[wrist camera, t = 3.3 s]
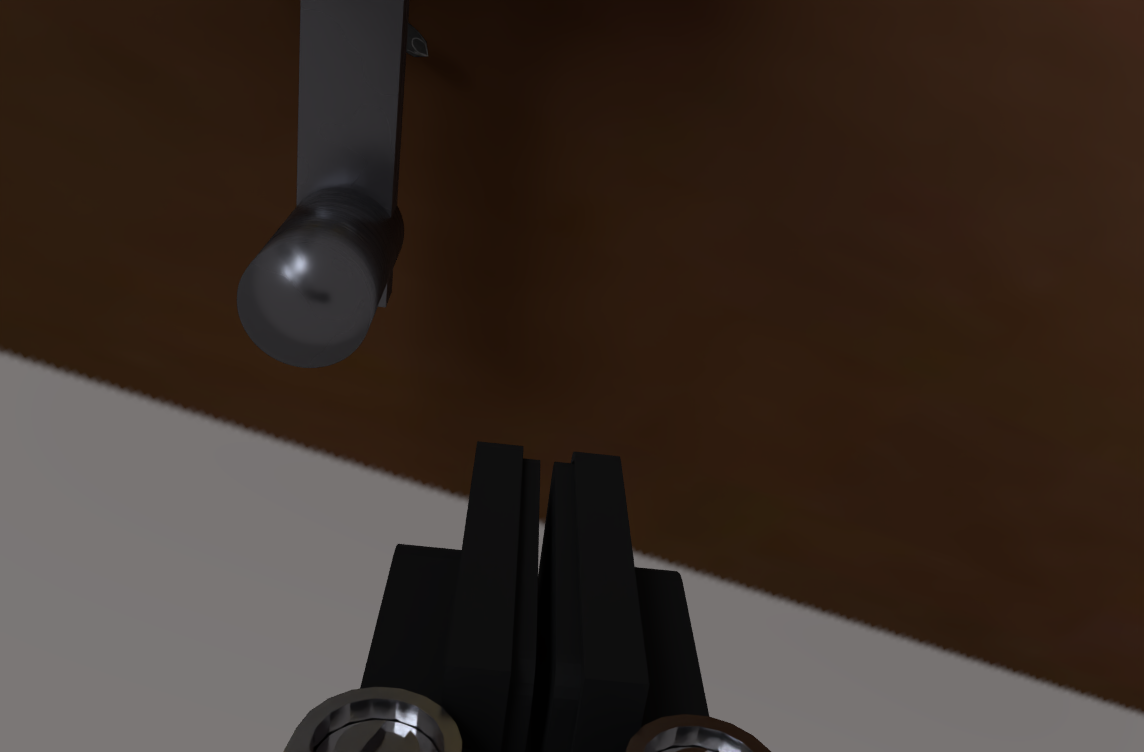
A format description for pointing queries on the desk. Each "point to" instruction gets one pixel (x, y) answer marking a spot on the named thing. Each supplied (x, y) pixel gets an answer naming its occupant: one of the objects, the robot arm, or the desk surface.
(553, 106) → the desk surface
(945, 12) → the desk surface
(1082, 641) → the desk surface
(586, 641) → the robot arm
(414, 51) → the screwdriver
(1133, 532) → the desk surface
